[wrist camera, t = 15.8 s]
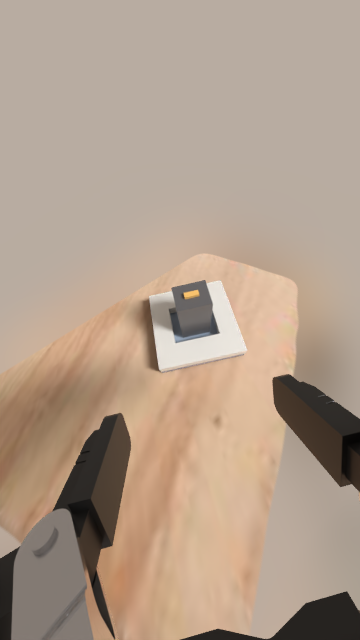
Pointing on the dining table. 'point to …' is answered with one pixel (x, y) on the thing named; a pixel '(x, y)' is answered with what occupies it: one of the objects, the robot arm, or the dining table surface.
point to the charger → (193, 308)
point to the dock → (197, 348)
